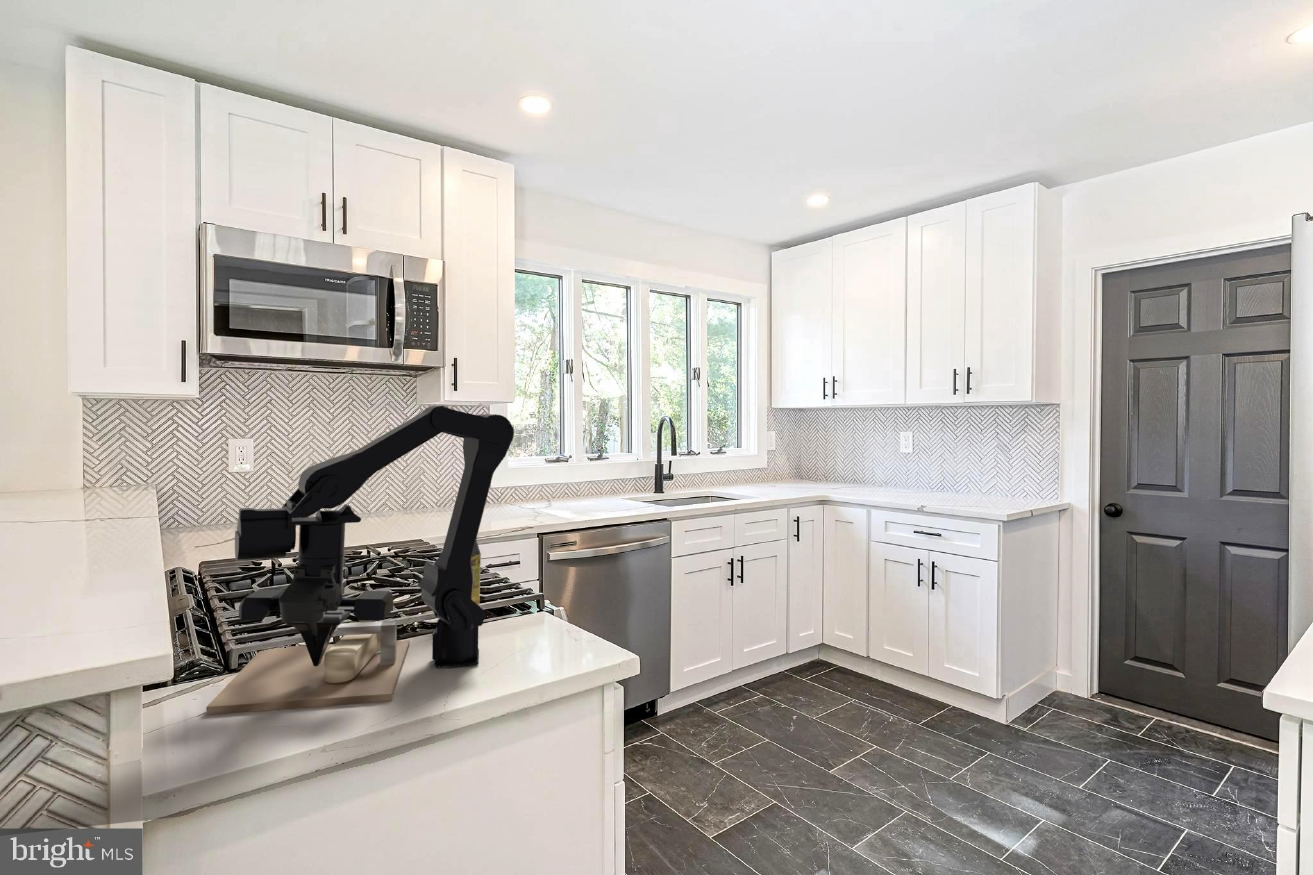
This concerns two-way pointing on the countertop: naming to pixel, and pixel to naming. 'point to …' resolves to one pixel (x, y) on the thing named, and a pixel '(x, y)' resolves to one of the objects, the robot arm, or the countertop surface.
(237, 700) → the base
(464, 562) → the robot arm
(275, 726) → the countertop surface
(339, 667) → the oak link
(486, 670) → the countertop surface
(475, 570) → the sauce bottle
